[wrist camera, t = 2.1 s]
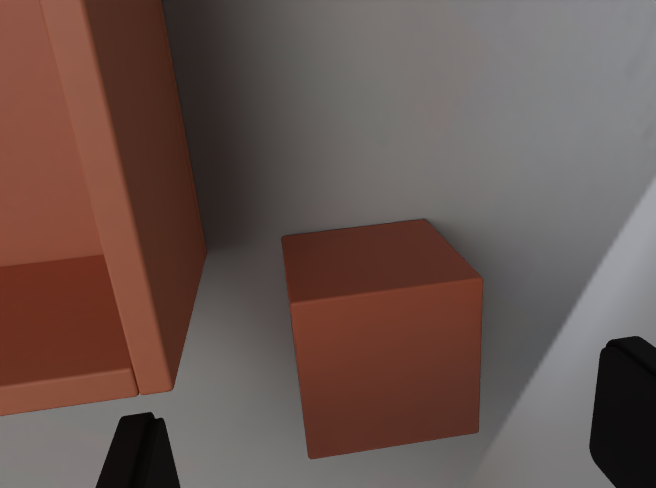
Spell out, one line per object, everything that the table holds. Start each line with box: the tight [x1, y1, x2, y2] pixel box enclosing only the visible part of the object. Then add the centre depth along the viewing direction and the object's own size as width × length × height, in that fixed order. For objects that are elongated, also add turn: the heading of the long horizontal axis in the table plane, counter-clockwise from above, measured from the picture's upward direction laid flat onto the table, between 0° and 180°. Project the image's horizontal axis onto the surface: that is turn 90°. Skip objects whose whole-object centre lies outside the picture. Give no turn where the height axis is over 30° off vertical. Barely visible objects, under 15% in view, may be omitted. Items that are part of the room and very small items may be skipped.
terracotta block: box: [281, 219, 483, 459], centre depth 14 cm, size 4×4×4 cm
